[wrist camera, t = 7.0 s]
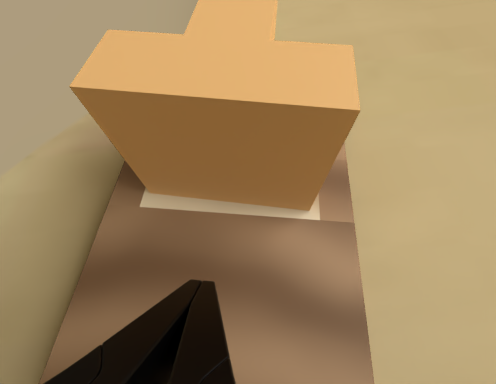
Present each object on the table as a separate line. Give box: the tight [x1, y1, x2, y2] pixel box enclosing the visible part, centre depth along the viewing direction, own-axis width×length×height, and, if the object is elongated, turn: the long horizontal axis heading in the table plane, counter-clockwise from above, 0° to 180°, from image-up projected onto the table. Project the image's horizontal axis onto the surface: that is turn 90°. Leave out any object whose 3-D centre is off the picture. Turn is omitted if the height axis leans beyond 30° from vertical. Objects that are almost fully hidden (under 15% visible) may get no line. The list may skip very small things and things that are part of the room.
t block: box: [70, 0, 360, 211], centre depth 14 cm, size 10×10×8 cm
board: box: [39, 144, 374, 384], centre depth 16 cm, size 21×15×2 cm
